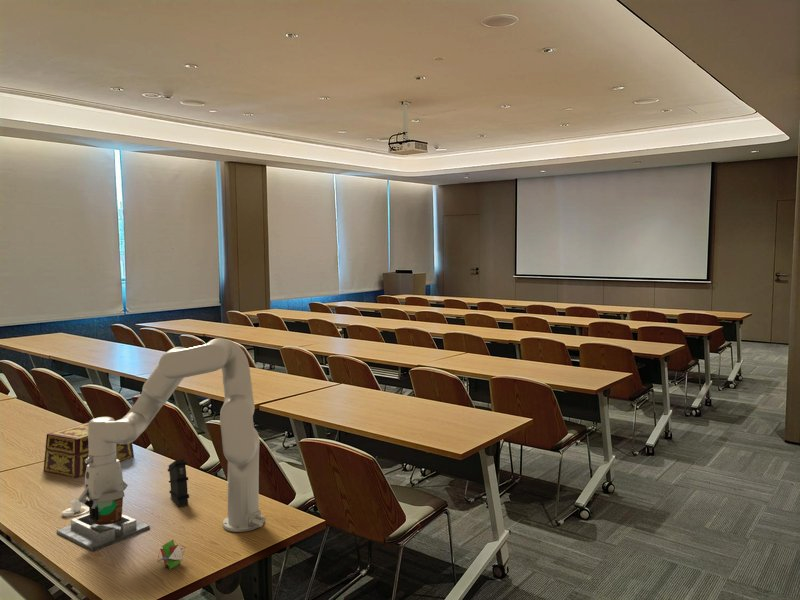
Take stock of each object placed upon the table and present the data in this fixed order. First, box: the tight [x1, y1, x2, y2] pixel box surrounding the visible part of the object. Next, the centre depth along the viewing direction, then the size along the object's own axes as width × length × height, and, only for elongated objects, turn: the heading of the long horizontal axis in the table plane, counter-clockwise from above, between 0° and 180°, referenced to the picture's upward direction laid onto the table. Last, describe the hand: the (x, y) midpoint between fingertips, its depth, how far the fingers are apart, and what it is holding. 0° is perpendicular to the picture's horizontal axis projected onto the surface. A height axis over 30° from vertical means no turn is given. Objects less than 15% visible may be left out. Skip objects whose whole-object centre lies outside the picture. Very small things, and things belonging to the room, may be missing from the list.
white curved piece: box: [61, 497, 89, 517], centre depth 197 cm, size 9×8×4 cm
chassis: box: [56, 513, 151, 552], centre depth 183 cm, size 20×18×4 cm
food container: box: [87, 490, 125, 525], centre depth 183 cm, size 12×6×10 cm, turn 67°
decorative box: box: [43, 421, 135, 479], centre depth 243 cm, size 28×19×15 cm
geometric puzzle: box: [156, 539, 186, 571], centre depth 163 cm, size 7×7×8 cm
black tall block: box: [167, 458, 190, 508], centre depth 207 cm, size 4×13×15 cm, turn 35°
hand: (104, 515), depth 183 cm, fingers closed on food container, 5 cm apart
